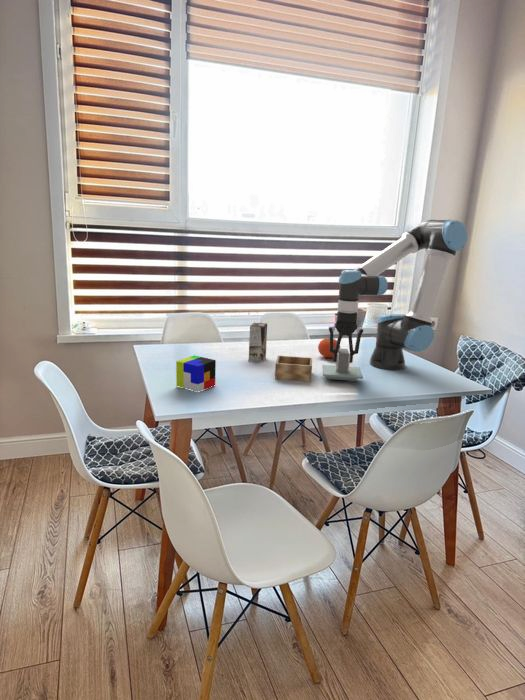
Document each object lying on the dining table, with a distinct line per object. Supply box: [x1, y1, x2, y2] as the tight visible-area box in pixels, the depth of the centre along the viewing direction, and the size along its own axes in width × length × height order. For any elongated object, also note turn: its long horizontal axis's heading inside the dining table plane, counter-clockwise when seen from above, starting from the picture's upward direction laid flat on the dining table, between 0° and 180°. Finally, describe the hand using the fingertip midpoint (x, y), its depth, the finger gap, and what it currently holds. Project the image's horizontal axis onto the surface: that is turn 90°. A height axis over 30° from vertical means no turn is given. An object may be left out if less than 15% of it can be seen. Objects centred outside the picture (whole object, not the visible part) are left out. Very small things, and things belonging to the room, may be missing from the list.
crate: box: [274, 355, 313, 383], centre depth 186 cm, size 14×12×7 cm
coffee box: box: [248, 322, 268, 363], centre depth 208 cm, size 9×6×16 cm
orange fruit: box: [317, 337, 341, 359], centre depth 217 cm, size 10×10×10 cm
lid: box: [322, 348, 364, 382], centre depth 184 cm, size 15×13×10 cm
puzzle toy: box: [175, 354, 217, 392], centre depth 171 cm, size 10×10×10 cm
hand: (342, 369), depth 184 cm, fingers closed on lid, 3 cm apart
